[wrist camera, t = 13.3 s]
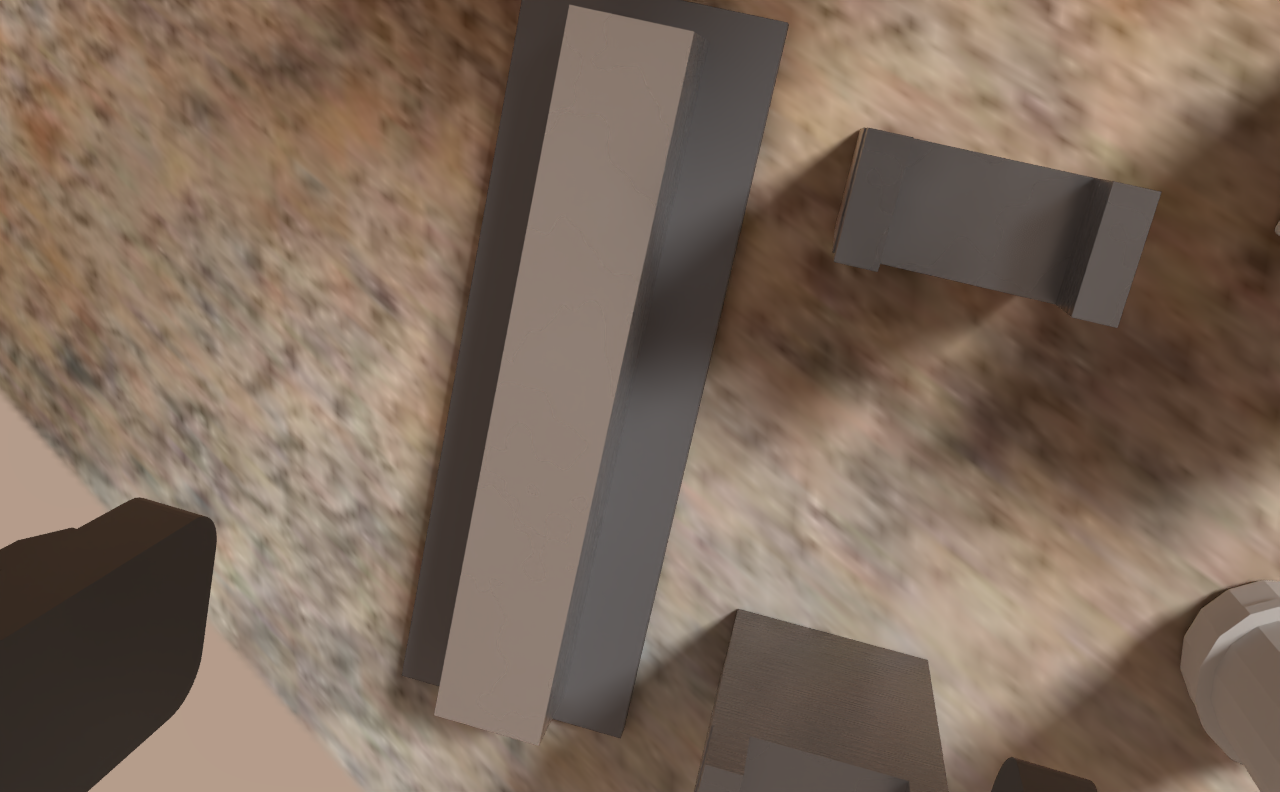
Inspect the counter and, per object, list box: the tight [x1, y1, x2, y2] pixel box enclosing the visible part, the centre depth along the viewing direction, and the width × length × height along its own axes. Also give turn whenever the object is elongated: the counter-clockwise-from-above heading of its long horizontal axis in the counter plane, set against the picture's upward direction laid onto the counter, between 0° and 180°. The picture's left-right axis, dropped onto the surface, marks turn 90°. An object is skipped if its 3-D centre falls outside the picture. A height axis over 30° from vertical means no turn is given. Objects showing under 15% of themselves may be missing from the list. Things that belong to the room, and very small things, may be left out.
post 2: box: [832, 128, 1161, 328], centre depth 30 cm, size 3×6×10 cm, turn 78°
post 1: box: [694, 609, 948, 792], centre depth 34 cm, size 3×6×10 cm, turn 78°
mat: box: [402, 0, 789, 738], centre depth 38 cm, size 24×8×1 cm, turn 168°
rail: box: [434, 5, 709, 746], centre depth 36 cm, size 22×4×4 cm, turn 168°
